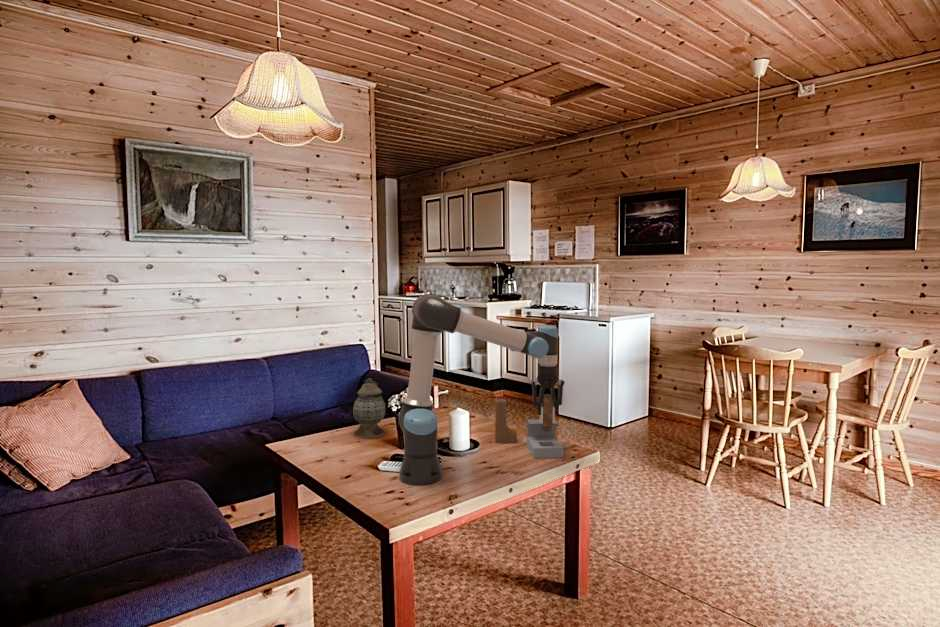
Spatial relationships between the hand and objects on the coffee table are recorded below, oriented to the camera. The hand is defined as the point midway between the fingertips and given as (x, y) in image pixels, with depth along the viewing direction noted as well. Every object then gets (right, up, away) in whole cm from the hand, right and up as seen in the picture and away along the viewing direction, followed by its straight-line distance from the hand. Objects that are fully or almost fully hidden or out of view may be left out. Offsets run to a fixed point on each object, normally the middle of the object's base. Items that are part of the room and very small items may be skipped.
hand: (547, 422), depth 228 cm
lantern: (-76, -10, +26) cm, 81 cm away
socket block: (-1, -12, +4) cm, 13 cm away
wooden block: (-16, -11, +16) cm, 25 cm away
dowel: (0, -3, 0) cm, 3 cm away
